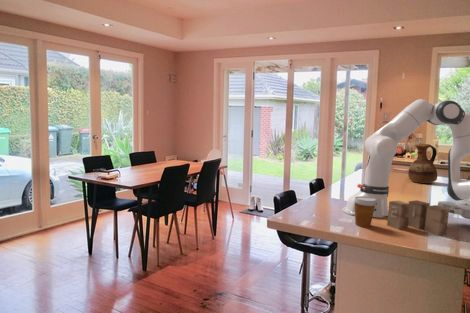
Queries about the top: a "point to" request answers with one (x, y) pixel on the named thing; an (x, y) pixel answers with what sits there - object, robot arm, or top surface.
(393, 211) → the walnut block numbered 2
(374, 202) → the disposable coffee cup
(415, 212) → the walnut block numbered 1
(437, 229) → the plain walnut block
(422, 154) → the ceramic pitcher
